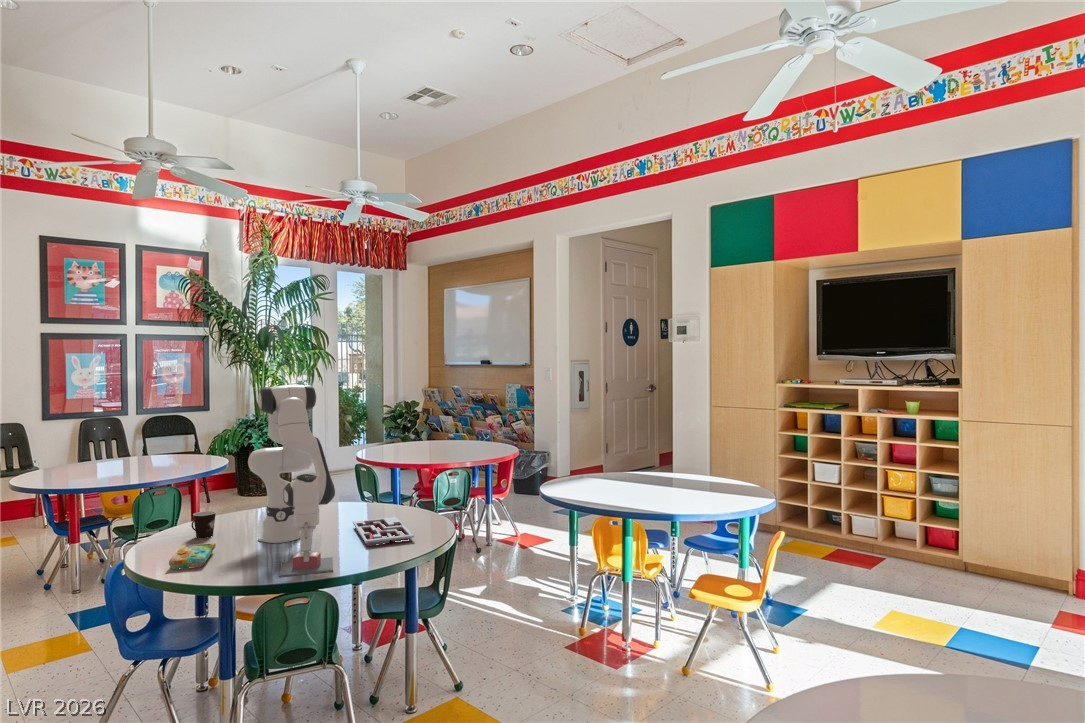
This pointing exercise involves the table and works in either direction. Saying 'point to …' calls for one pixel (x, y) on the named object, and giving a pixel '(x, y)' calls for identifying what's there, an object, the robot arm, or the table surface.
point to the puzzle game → (191, 556)
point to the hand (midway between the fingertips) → (306, 557)
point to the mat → (323, 567)
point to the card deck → (312, 563)
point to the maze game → (392, 528)
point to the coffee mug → (204, 523)
